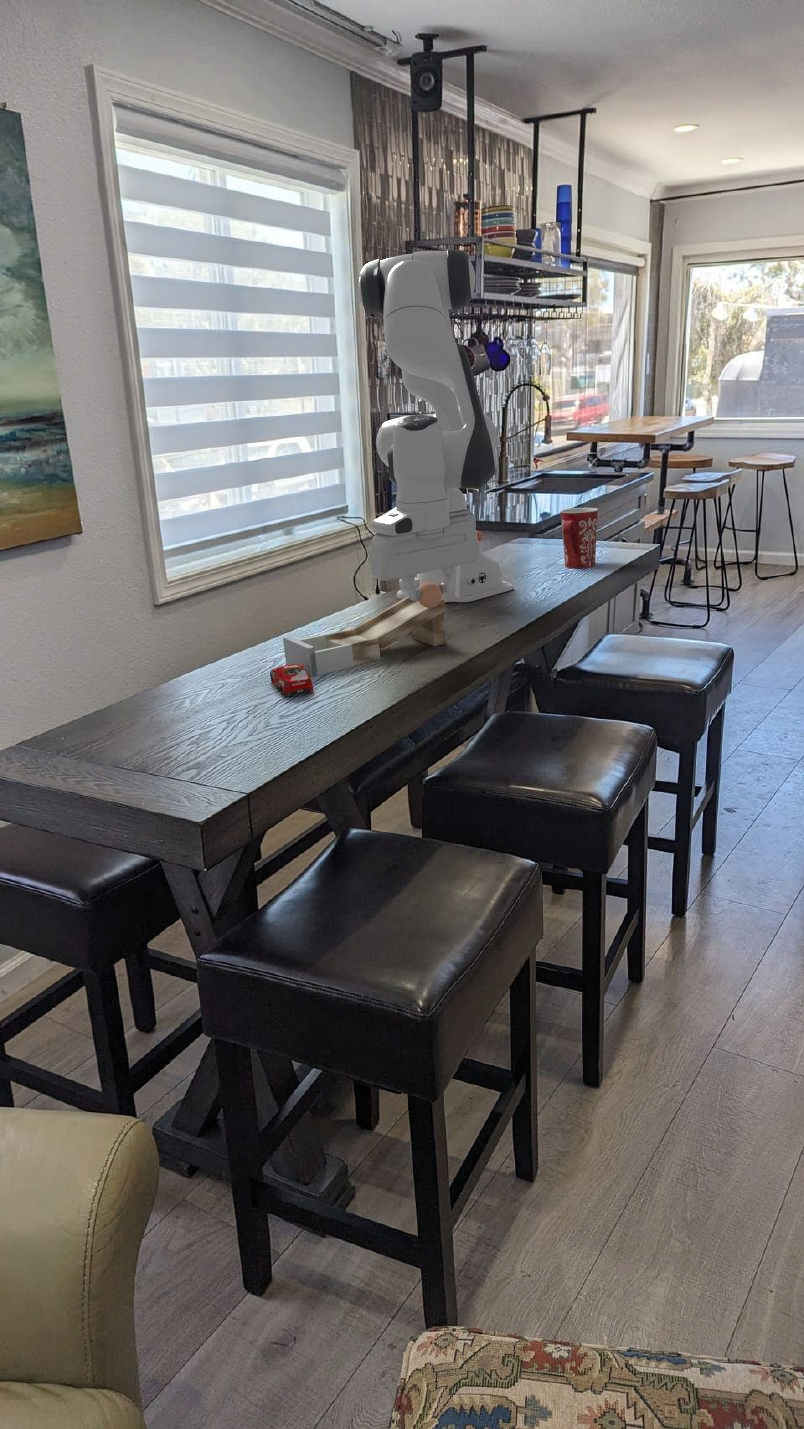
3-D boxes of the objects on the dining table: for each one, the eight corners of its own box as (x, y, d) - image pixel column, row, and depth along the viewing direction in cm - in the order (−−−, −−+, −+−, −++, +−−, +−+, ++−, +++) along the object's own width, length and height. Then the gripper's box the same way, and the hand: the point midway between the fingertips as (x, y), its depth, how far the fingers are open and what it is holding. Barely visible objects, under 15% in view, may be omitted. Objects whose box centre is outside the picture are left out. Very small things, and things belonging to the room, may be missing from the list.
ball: (434, 602, 174) (432, 578, 173) (447, 607, 171) (446, 582, 169) (413, 607, 172) (411, 583, 171) (426, 612, 169) (424, 586, 167)
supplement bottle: (423, 630, 191) (420, 581, 188) (396, 631, 192) (393, 582, 189) (428, 624, 196) (425, 575, 193) (402, 624, 197) (398, 576, 194)
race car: (268, 681, 168) (265, 658, 167) (299, 675, 169) (297, 653, 168) (283, 701, 156) (280, 677, 154) (316, 696, 157) (314, 672, 156)
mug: (571, 561, 246) (569, 507, 242) (604, 562, 241) (604, 507, 237) (548, 571, 237) (546, 514, 232) (582, 573, 231) (581, 515, 227)
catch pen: (327, 655, 179) (324, 628, 178) (353, 666, 171) (351, 639, 169) (286, 664, 175) (282, 637, 174) (311, 676, 167) (307, 648, 165)
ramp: (422, 634, 188) (419, 590, 185) (449, 643, 180) (446, 598, 177) (327, 655, 179) (322, 610, 176) (351, 666, 171) (346, 618, 168)
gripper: (464, 506, 173) (468, 582, 178) (362, 523, 164) (370, 604, 169) (484, 509, 168) (488, 588, 173) (381, 527, 159) (388, 610, 164)
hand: (429, 596), depth 171 cm, fingers closed on ball, 4 cm apart
